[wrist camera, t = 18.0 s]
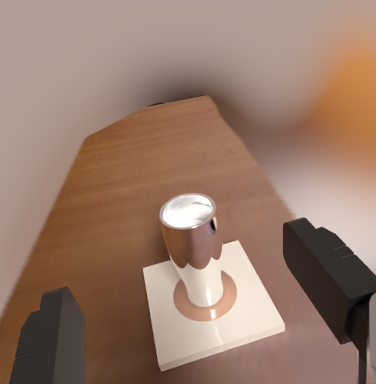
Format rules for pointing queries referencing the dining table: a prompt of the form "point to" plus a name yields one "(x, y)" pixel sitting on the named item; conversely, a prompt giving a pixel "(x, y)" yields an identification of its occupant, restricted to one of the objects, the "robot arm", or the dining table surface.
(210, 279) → the shiny silver metal cup
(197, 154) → the dining table surface
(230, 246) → the ceramic tile
